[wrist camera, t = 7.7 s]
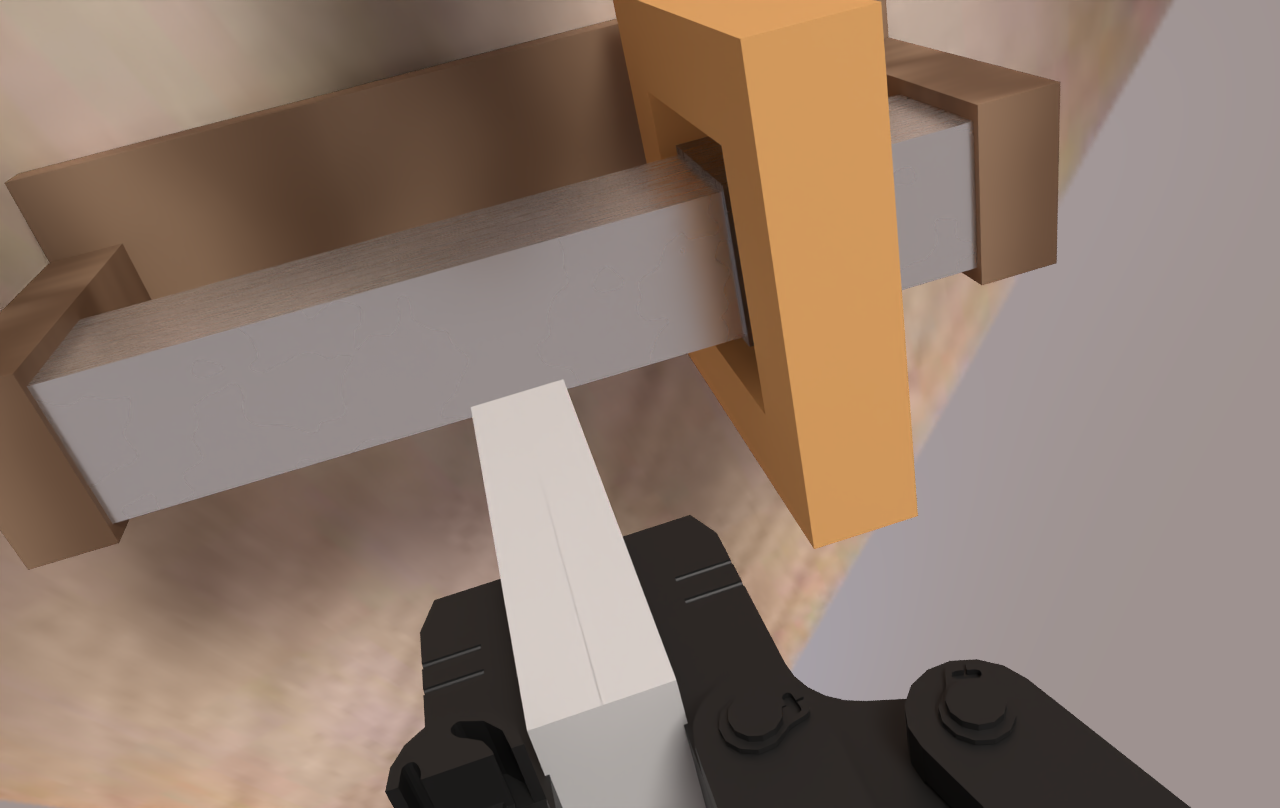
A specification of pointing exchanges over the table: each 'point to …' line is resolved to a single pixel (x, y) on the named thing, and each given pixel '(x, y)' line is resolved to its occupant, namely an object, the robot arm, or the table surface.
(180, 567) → the table surface
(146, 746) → the table surface
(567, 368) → the rail
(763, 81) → the orange square ring
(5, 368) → the brown stand
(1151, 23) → the table surface
